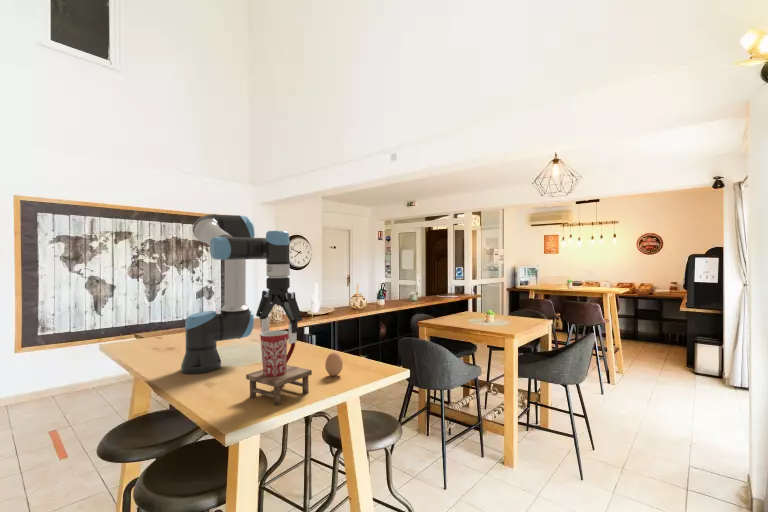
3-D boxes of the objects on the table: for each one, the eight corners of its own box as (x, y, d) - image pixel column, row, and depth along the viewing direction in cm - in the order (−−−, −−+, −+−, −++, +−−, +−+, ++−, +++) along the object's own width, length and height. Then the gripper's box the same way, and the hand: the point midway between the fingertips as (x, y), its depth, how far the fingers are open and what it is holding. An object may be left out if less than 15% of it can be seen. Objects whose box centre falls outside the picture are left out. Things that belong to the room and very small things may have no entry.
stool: (246, 397, 124) (246, 374, 124) (282, 384, 137) (281, 363, 137) (276, 407, 116) (276, 382, 116) (311, 392, 128) (311, 370, 128)
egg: (346, 375, 146) (345, 352, 146) (332, 379, 141) (332, 355, 141) (335, 372, 151) (335, 349, 151) (322, 375, 146) (321, 352, 146)
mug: (269, 379, 119) (269, 336, 119) (255, 374, 125) (254, 333, 125) (303, 370, 128) (302, 330, 128) (287, 365, 134) (287, 327, 134)
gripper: (245, 276, 130) (245, 337, 131) (295, 278, 116) (296, 347, 117) (263, 275, 137) (263, 333, 137) (313, 277, 123) (313, 342, 123)
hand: (278, 340), depth 127 cm, fingers open, 13 cm apart
